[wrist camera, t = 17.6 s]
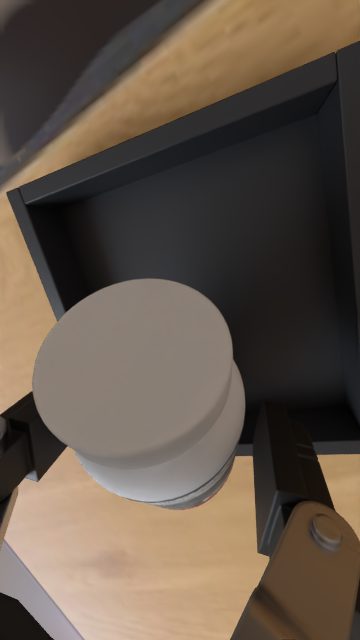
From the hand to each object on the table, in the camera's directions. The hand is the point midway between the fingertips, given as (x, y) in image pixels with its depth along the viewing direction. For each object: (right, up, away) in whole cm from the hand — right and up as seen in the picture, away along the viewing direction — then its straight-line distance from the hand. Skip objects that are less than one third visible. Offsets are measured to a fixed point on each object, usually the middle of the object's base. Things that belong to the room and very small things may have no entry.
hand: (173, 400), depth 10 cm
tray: (+2, +4, +4) cm, 6 cm away
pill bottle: (0, -4, +4) cm, 5 cm away
